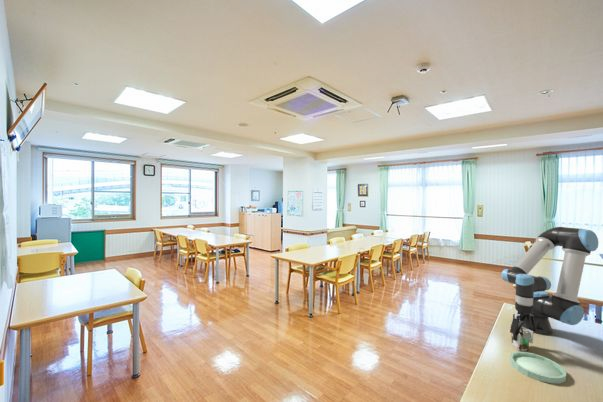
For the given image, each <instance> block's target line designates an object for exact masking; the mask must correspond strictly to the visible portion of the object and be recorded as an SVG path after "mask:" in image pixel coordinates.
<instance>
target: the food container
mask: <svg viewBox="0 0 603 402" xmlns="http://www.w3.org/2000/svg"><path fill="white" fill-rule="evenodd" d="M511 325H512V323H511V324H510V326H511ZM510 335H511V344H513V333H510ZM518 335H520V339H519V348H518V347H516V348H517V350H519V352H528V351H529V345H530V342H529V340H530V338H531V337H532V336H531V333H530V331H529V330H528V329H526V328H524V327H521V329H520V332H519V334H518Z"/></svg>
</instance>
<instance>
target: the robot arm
mask: <svg viewBox="0 0 603 402" xmlns="http://www.w3.org/2000/svg"><path fill="white" fill-rule="evenodd" d="M534 241H535V242H534V243H533V245H532V246H530V248H529V249H528V250H527V251H526V252H525V253H524V254H523V256H522V257H521V258H520V259H519V260H518V261H517V262H516V263H515V264H514V265H513V266H512V267H511V268H504V269H503V270H502V271H501V273H500V274H501V275H500V276H501V279H502V281H504V282H507V283H509V284H514V285H515V300H514V301H515V302H514V309H515V311H517V313H516V314H515V313H513V314H512V320H511V324H512V325H511V324H510V330H509V333H510V334H511V333H513V343H512V346H515V347H516V348H517V347H518V348H519V339H520V335H518V334H519V332H520V329H521V327H524V328H526V329H528V330H529V331H530V333H531V336H532V337H531V338H530V340H529V344H534V334H539V335H552V333H553V327H552V325H551V322H550V319H549V318H551V319H553V320H556V321H558V322H561V323H562V324H567V325H570V326H575V325H578V324H579V323H580V322H581V321H582V320H583V318H584V316H585V309H584V308H583V306H581V302H580V300H579V299H578V295H579V290H580V285H581V282H582V281H581V280H582V276H583V273H584V266H585V262H586V258H587V257H588V256H590V255H591V252H596V251H597V249H598V248H599V238H598V236H597V234H596V233H595V232H594V231H593V230H590V229H587V228H586V229H585V228H578V227H577V228H576V227H564V226H555V227H551V228H550V229H546V230H544V232H542V233H540V234H539V235H538V236H537V237H536V238H535V240H534ZM556 247H561V250H562V251H563V252H564V254H563V260H562V264H561V270H560V274H559V279H558V283H557V288H556V292H554V293H552V294H551V296H550V293H549V292H547V291H549V290H550V289H552V283H551V281H550V279H548V278H547V277H545V276H540V275H539V276H537V275H536V276H534V275H531V274H529V273H530V272H531V271H532V270H533V269H534V268H535V267H536V265H537V264H538V263H540V261H541V260H542V259H543V258H544V257H545V256H546V254H547V253H548V252H549V251H551V250H554V249H555V248H556ZM518 348H517V349H518Z"/></svg>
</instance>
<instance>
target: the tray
mask: <svg viewBox="0 0 603 402" xmlns="http://www.w3.org/2000/svg"><path fill="white" fill-rule="evenodd" d="M509 362H510V365H511V366H512V368H514V369H515V370H516V371H517V372H519V373H521V374H523V375H525V376H526V377H529V378H531V379H534V380H536V381H539V382H543V383H547V384H557V385H558V384H563V383H565V382H567V371H566V369H565V368H564V367H563V366H562V365H560V364H558V363H557V362H556V361H554V360H552V359H550V358H548V357H546V356H544V355H539V354H536V353H532V352H528V351H527V352H521V351H514V352H511V353H510V355H509Z"/></svg>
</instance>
